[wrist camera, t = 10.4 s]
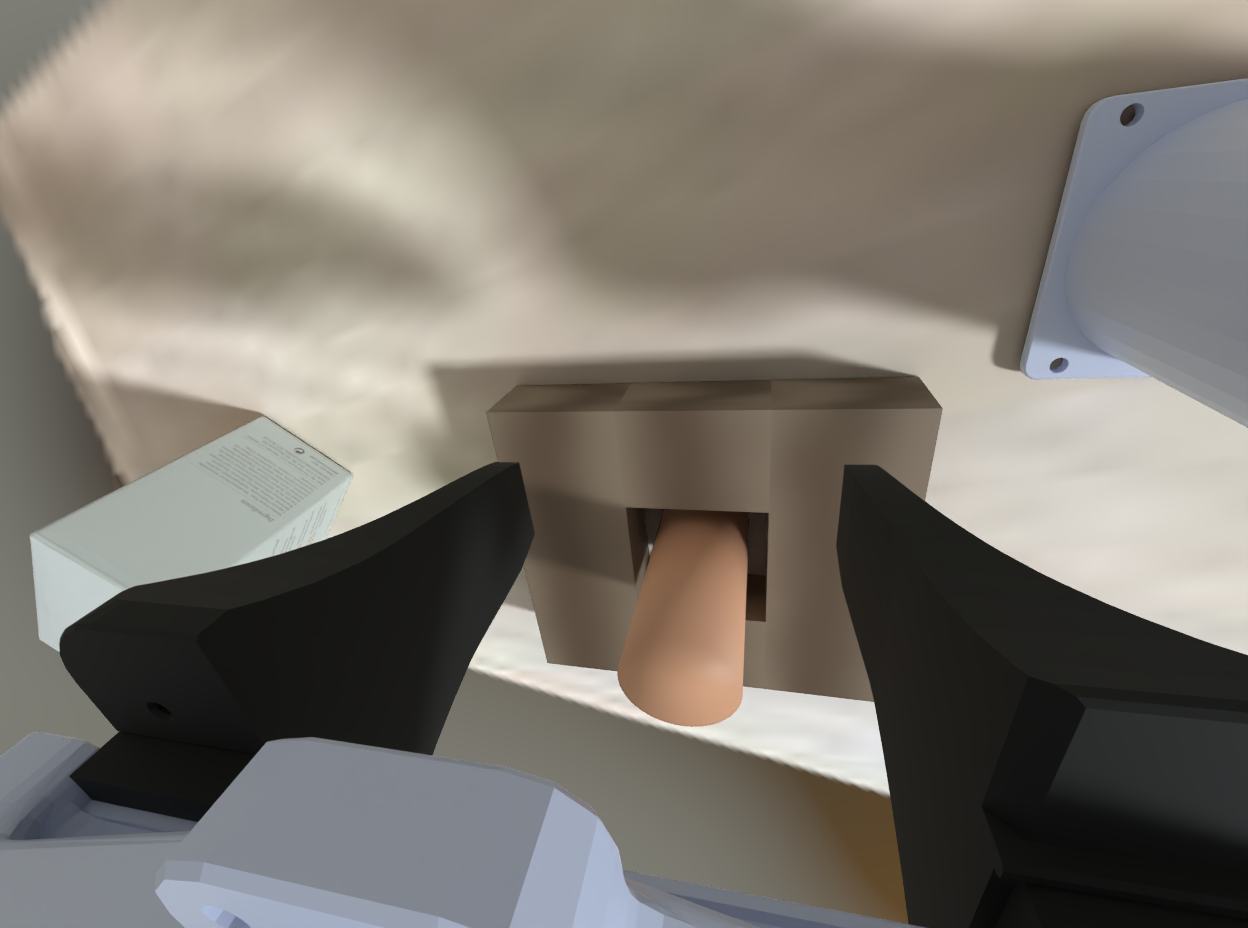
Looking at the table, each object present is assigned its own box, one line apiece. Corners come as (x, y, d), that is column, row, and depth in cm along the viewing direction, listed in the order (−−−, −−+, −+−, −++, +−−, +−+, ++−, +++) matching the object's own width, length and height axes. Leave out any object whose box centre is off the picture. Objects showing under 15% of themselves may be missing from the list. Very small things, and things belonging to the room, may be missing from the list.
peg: (740, 481, 23) (730, 637, 15) (755, 554, 25) (752, 728, 17) (653, 491, 24) (602, 640, 17) (672, 560, 26) (635, 724, 18)
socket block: (918, 376, 19) (942, 408, 17) (873, 650, 26) (885, 703, 23) (516, 385, 23) (486, 412, 21) (566, 620, 30) (547, 663, 27)
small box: (265, 411, 27) (22, 529, 18) (358, 473, 28) (167, 617, 19) (239, 506, 31) (31, 640, 22) (320, 559, 32) (149, 709, 23)
